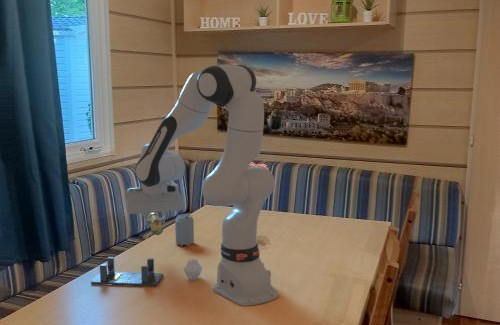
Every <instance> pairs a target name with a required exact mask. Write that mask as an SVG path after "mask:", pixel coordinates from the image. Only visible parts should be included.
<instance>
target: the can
mask: <svg viewBox="0 0 500 325" xmlns="http://www.w3.org/2000/svg"><path fill="white" fill-rule="evenodd" d="M174 220H175V221H174V222H175V225H174V226H175V230H174V232H175V244H177V245H178V244H179V245H189V244H191V245H193V244H194V242H195V227H194V225H195V224H194V223H195V222H194V218H193V216H192V215H191V214H187V213H184V214H183V213H182V214H178V215H177V216H176V218H175V219H174ZM179 245H178V246H179ZM189 246H190V245H189Z"/></svg>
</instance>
